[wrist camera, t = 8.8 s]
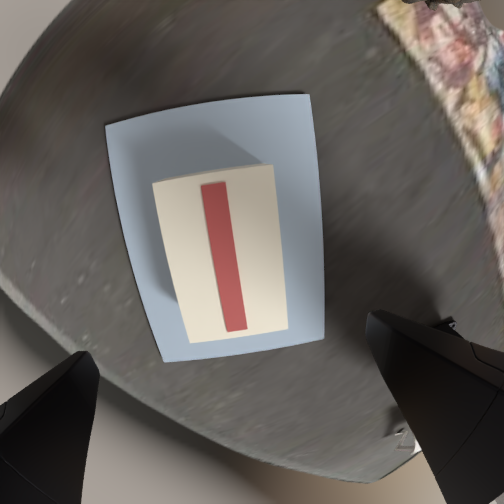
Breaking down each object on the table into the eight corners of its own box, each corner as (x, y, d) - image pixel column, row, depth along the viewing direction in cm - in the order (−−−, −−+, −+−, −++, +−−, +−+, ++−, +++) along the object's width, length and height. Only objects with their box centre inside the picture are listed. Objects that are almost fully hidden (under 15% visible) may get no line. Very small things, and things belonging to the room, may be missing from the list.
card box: (263, 163, 17) (273, 164, 13) (277, 301, 20) (288, 330, 16) (165, 178, 16) (151, 183, 13) (194, 313, 19) (189, 344, 16)
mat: (322, 335, 22) (324, 338, 21) (164, 359, 21) (164, 362, 21) (307, 95, 16) (309, 93, 15) (107, 126, 15) (105, 125, 15)
